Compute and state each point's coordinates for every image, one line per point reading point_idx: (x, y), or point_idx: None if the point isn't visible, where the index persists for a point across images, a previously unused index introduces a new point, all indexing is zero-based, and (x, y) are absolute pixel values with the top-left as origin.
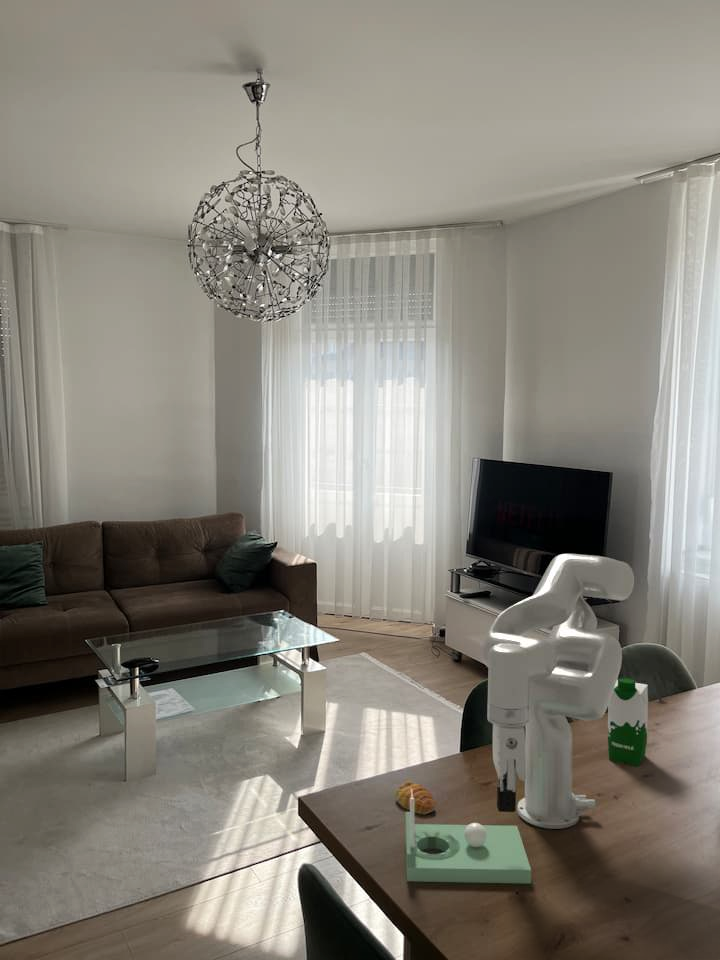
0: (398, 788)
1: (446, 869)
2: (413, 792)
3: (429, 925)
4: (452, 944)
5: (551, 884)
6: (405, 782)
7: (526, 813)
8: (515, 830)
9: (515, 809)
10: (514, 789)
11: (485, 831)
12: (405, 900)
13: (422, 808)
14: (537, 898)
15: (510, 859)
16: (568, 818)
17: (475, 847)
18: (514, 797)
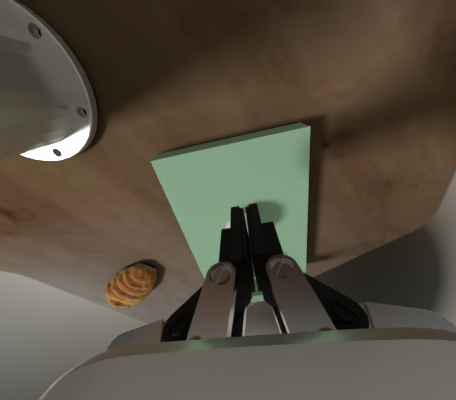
0: (130, 306)
1: (306, 245)
2: (133, 296)
3: (382, 238)
4: (423, 214)
5: (301, 79)
6: (117, 307)
7: (71, 141)
8: (170, 163)
9: (256, 204)
10: (443, 317)
11: (246, 224)
12: (334, 261)
13: (154, 277)
14: (344, 108)
15: (275, 167)
16: (18, 23)
17: None
18: (263, 234)
